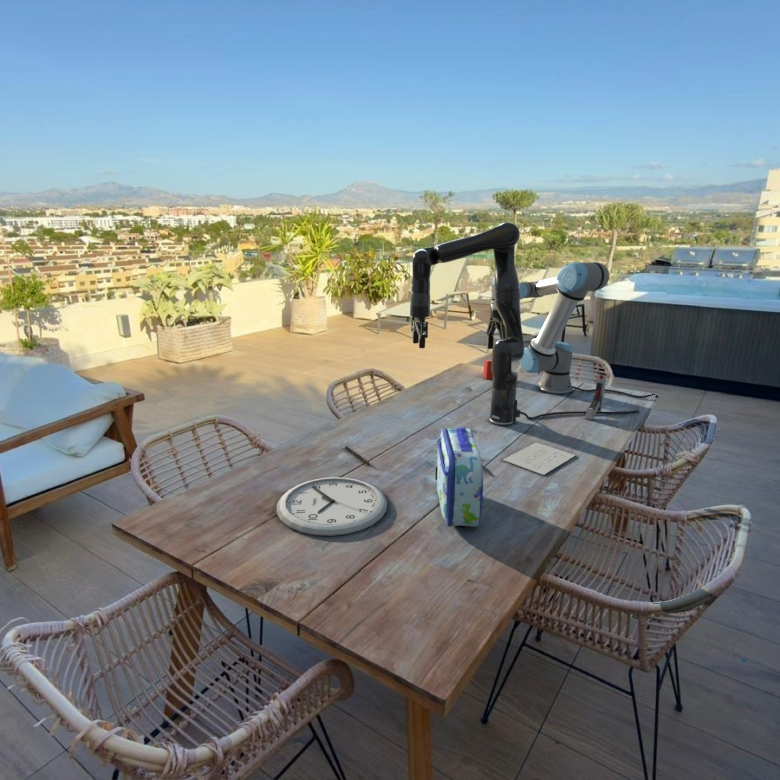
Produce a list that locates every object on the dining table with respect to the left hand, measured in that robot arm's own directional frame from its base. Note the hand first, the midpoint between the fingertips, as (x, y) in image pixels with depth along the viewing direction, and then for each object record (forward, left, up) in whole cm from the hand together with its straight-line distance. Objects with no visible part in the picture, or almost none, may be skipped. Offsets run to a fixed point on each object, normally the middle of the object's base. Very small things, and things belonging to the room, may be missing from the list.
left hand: (418, 345), depth 203 cm
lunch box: (+11, +72, -29) cm, 79 cm away
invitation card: (-28, +48, -29) cm, 63 cm away
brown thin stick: (+31, +34, -29) cm, 54 cm away
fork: (-6, +48, -29) cm, 56 cm away
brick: (-55, -46, -29) cm, 77 cm away
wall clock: (+43, +63, -29) cm, 82 cm away
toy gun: (-72, +14, -29) cm, 79 cm away
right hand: (-55, -45, -15) cm, 73 cm away
